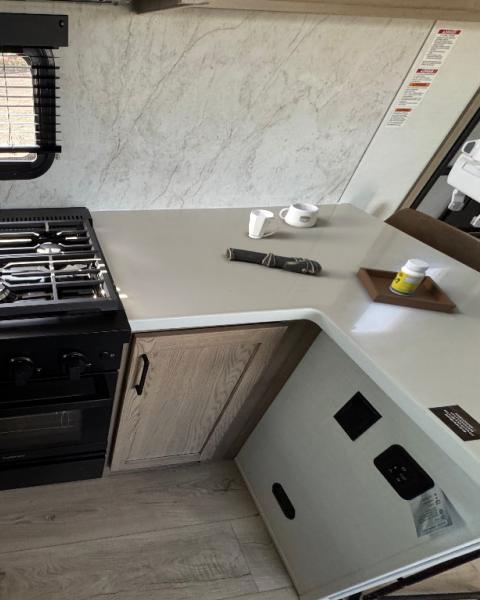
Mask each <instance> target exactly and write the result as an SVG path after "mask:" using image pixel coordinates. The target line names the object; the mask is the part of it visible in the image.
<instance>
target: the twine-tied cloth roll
mask: <svg viewBox="0 0 480 600" xmlns="http://www.w3.org/2000/svg"><path fill="white" fill-rule="evenodd" d="M225 250H226V252H225V256H226V258H227V260H228V261H232V260H237V261H243V262H250V263H256V264H262V265H263V266H265V267H267V268H268V267H277V268H281V269H282V268H283V270H285V271H290V272H295V273H304V274H305V273H308V274H321V273H322V272H323V267H322V264H321V263H320V262H318V261H316V260H315V259H314V260H313V259H308V258H303V257H296V256H291V257H289V256H283V255H277V254H274V253H273V252H268V253H266V252H258V251H254V250H248V249H241V248H234V247H227V248H226V249H225Z"/></svg>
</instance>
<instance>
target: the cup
mask: <svg viewBox="0 0 480 600" xmlns="http://www.w3.org/2000/svg"><path fill="white" fill-rule="evenodd" d="M274 215H275V214H274V213H273V212H271V211H269V210H266V209H252V210H251V212H250V217H249V224H248V233H249V234H248V236H249V237H250V238H251V239H252V238H253V239H257V240H258V239H262V238H267V237H269V236H271V235H274V234H275V233H277V232H278V231H279V230H280V228H281V224H282V223H281V219H280V217H278V216H274ZM272 220H277V221H278V226H277V227H276V229H275V230H273V231H271V232H269V233H267V234H265V233H266V231H267V229H268V227H269V225H270V223H271V221H272Z"/></svg>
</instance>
